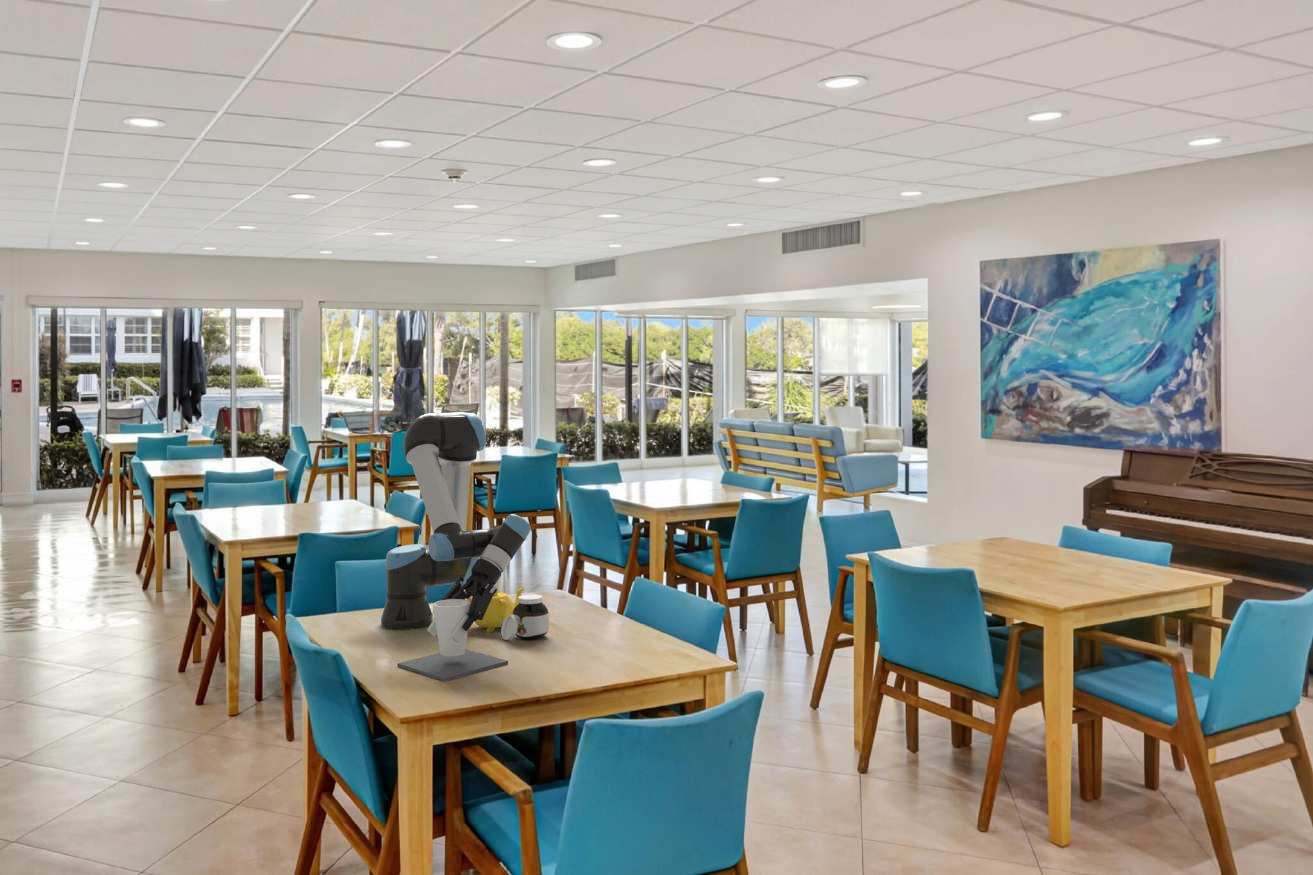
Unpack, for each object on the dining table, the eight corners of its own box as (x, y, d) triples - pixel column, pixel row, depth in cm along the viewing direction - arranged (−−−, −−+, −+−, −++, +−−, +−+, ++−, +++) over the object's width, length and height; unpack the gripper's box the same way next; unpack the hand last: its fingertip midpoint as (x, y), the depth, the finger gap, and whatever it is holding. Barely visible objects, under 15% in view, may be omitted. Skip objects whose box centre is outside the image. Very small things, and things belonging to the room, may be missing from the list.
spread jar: (553, 636, 293) (552, 596, 292) (528, 645, 283) (528, 603, 283) (520, 631, 299) (519, 591, 298) (495, 640, 289) (494, 599, 289)
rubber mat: (397, 666, 264) (397, 663, 264) (460, 650, 278) (460, 647, 278) (444, 681, 250) (444, 678, 250) (508, 663, 265) (507, 660, 265)
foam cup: (444, 659, 258) (443, 608, 257) (427, 652, 265) (426, 602, 264) (478, 653, 264) (477, 603, 263) (460, 646, 271) (459, 597, 270)
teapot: (474, 638, 291) (473, 598, 290) (454, 628, 304) (454, 589, 303) (538, 628, 302) (537, 590, 301) (516, 618, 314) (515, 582, 314)
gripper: (525, 579, 267) (478, 651, 256) (472, 569, 282) (425, 637, 271) (509, 562, 263) (460, 635, 252) (456, 553, 278) (408, 621, 267)
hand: (442, 636), depth 262 cm, fingers closed on foam cup, 9 cm apart
